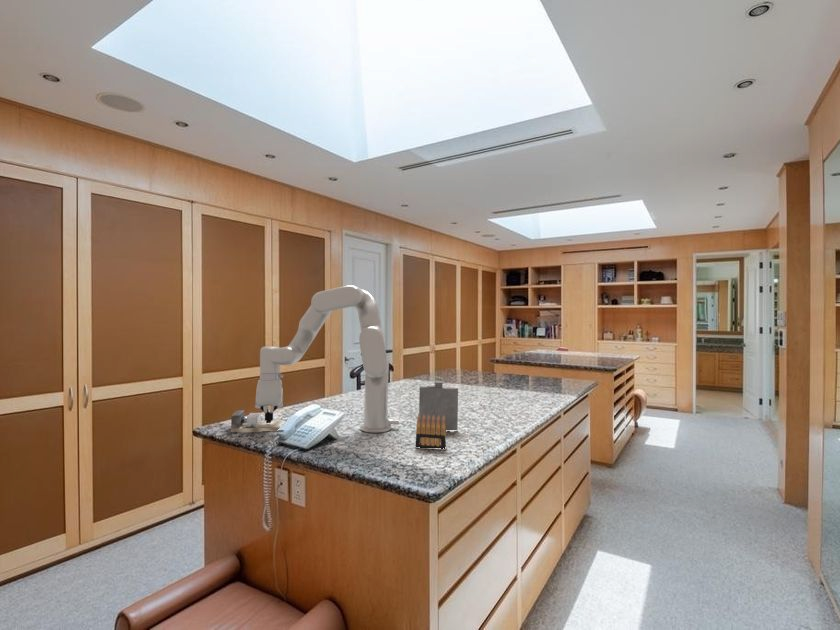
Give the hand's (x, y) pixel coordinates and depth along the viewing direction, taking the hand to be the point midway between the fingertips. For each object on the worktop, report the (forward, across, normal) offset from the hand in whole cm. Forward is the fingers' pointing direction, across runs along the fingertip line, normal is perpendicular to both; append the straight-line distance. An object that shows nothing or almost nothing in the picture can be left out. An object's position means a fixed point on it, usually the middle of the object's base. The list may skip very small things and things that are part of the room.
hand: (268, 422), depth 175 cm
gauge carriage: (+1, +7, +1) cm, 7 cm away
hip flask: (+3, -68, +11) cm, 69 cm away
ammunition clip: (+3, -60, +34) cm, 69 cm away
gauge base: (+3, +3, 0) cm, 4 cm away
